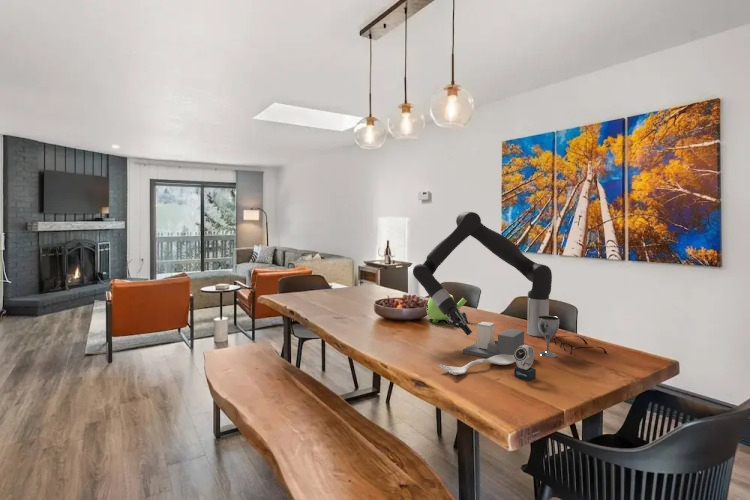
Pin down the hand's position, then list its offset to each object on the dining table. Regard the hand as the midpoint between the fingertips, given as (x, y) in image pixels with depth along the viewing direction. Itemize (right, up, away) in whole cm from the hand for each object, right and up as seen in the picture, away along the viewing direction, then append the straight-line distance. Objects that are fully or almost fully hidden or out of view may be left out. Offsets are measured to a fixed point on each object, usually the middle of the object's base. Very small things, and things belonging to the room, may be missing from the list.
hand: (469, 333), depth 178 cm
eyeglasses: (+46, -7, -1) cm, 46 cm away
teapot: (-1, -3, +53) cm, 53 cm away
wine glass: (+29, -7, -8) cm, 31 cm away
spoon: (-1, -8, -24) cm, 25 cm away
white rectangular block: (+6, -5, -4) cm, 8 cm away
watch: (+11, -9, -33) cm, 36 cm away
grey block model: (+8, -7, -6) cm, 12 cm away
